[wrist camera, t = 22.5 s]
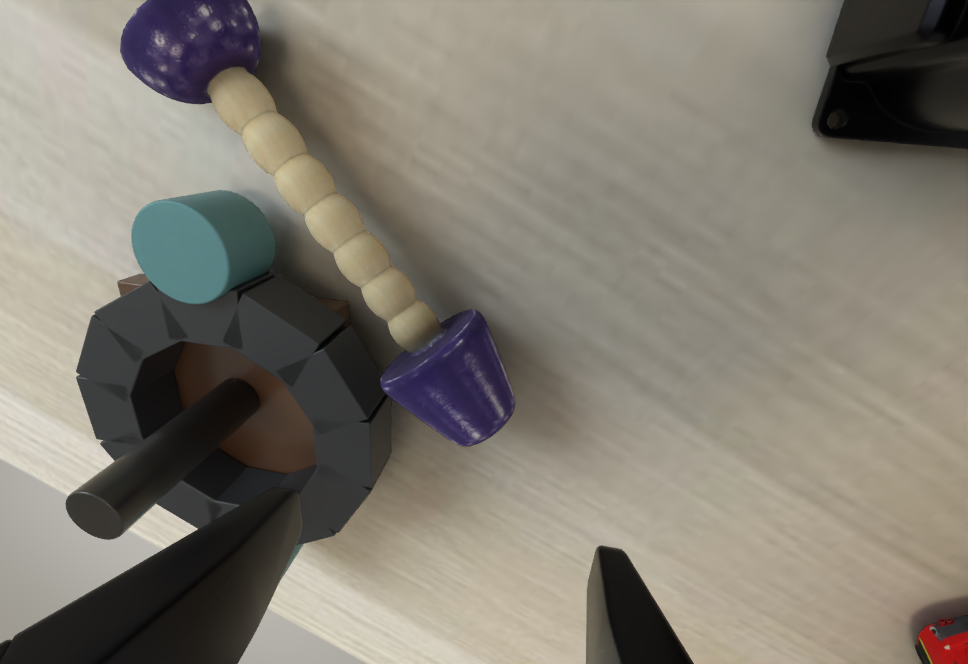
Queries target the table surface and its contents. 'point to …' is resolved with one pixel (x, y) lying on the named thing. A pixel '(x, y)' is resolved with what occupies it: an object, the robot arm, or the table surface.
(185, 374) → the stand
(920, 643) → the race car
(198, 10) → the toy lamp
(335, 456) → the grey faceted ring
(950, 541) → the table surface
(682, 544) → the table surface
